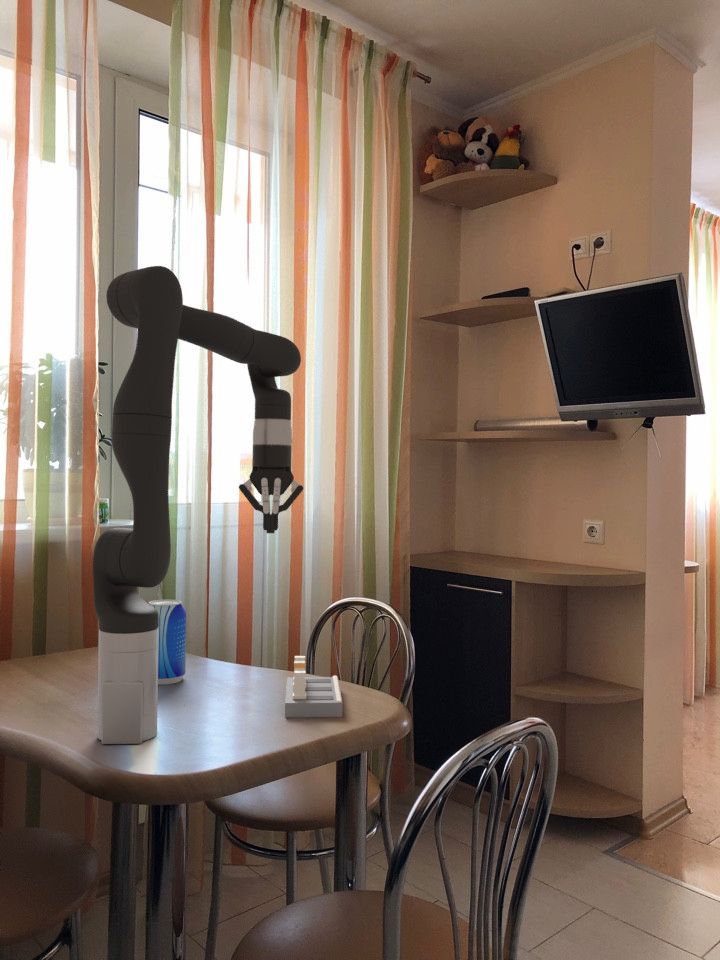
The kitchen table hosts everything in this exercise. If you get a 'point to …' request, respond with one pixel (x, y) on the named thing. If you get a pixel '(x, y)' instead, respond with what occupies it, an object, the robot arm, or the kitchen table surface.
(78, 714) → the kitchen table surface
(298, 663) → the breaker toggle
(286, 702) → the breaker panel
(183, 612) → the beer can
